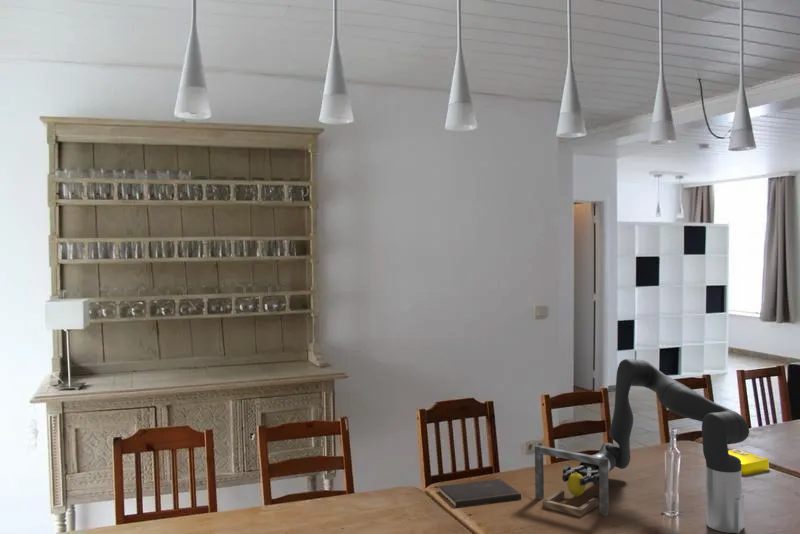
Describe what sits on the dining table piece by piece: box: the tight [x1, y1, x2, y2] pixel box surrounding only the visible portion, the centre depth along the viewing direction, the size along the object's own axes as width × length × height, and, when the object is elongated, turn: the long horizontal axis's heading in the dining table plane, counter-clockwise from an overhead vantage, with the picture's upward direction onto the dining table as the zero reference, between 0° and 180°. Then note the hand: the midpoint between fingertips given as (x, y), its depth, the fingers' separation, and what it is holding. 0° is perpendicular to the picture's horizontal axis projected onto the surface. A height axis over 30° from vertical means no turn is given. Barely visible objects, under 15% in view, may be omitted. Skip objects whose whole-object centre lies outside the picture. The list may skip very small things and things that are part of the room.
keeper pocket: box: [534, 444, 610, 518], centre depth 206 cm, size 24×12×17 cm, turn 50°
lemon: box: [567, 472, 586, 498], centre depth 210 cm, size 6×6×8 cm
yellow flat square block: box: [728, 448, 770, 476], centre depth 243 cm, size 15×15×5 cm
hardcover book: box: [438, 478, 522, 508], centre depth 217 cm, size 16×23×2 cm
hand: (572, 480), depth 208 cm, fingers closed on lemon, 5 cm apart
